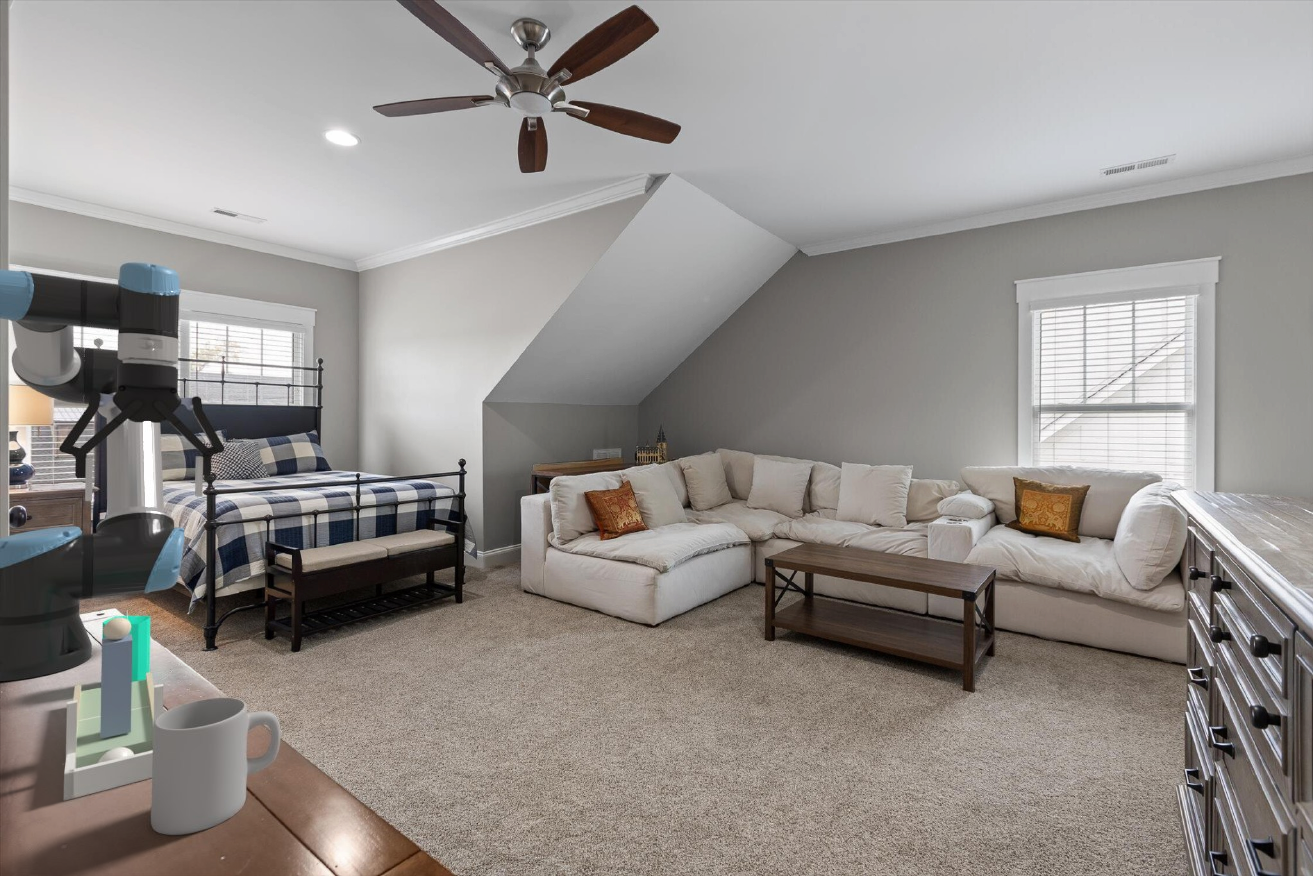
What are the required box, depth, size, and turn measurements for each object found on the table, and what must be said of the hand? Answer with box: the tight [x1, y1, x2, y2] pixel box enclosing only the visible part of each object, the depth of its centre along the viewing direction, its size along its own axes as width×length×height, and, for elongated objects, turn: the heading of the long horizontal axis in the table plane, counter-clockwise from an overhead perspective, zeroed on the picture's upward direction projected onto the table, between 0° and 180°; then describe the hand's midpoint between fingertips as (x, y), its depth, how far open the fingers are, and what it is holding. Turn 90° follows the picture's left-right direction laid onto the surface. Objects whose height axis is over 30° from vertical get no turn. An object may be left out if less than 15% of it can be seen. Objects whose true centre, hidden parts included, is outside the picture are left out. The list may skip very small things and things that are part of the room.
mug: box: [150, 697, 281, 836], centre depth 72 cm, size 12×8×11 cm
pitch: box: [72, 671, 155, 769], centre depth 89 cm, size 25×9×3 cm, turn 41°
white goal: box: [63, 683, 164, 802], centre depth 77 cm, size 6×9×9 cm
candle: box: [101, 609, 151, 682], centre depth 104 cm, size 6×6×12 cm
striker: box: [100, 618, 132, 739], centre depth 83 cm, size 3×3×15 cm
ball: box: [98, 747, 134, 763], centre depth 77 cm, size 4×4×4 cm
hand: (146, 498), depth 101 cm, fingers open, 13 cm apart
